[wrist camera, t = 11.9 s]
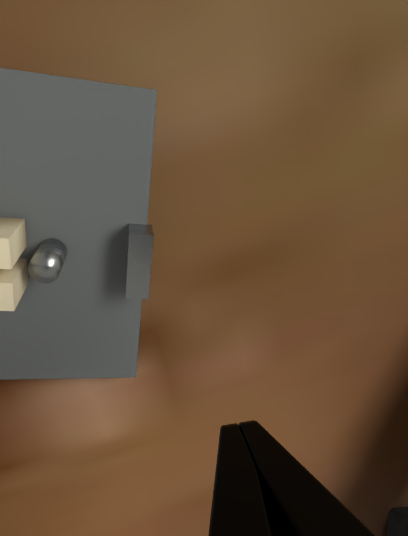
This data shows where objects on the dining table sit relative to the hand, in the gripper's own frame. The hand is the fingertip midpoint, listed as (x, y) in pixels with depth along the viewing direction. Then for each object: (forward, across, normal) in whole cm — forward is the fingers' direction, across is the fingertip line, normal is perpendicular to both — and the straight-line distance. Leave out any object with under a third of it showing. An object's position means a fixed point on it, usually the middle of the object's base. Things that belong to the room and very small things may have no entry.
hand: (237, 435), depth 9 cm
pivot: (+10, +4, -1) cm, 11 cm away
